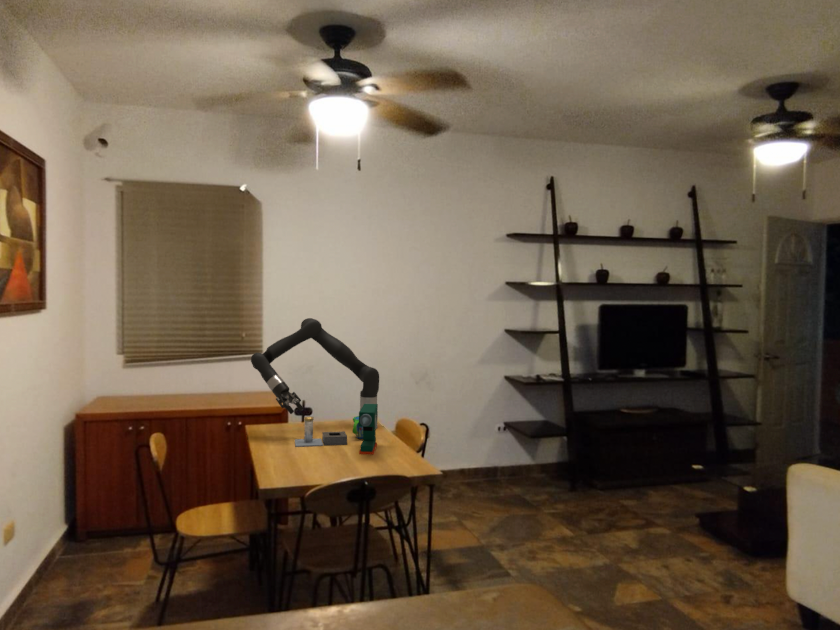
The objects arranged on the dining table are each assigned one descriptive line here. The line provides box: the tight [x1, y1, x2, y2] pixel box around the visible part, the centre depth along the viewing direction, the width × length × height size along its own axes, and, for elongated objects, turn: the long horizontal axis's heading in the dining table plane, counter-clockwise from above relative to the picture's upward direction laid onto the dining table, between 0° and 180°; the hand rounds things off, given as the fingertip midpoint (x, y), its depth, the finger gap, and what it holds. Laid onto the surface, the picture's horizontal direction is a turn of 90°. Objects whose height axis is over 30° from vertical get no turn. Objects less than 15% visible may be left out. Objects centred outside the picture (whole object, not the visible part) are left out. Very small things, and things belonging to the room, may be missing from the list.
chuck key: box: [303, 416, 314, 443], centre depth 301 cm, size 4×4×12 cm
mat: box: [294, 437, 324, 448], centre depth 302 cm, size 13×13×1 cm
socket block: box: [321, 431, 348, 446], centre depth 304 cm, size 11×11×4 cm
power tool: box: [358, 403, 379, 455], centre depth 286 cm, size 32×7×20 cm, turn 179°
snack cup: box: [352, 415, 363, 440], centre depth 316 cm, size 16×10×10 cm
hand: (297, 411), depth 303 cm, fingers open, 8 cm apart
